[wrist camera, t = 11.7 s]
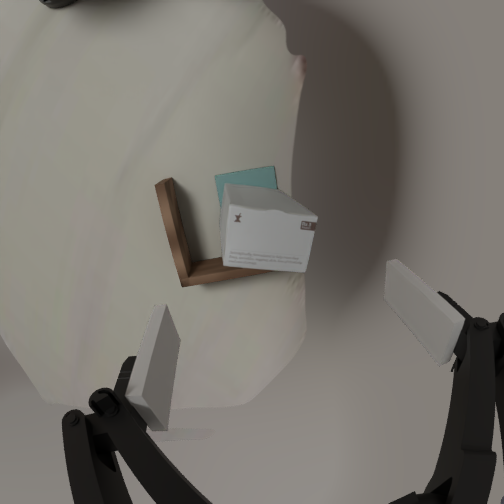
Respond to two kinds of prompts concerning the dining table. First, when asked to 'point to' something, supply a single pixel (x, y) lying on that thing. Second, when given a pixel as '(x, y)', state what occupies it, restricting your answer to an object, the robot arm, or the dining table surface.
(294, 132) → the dining table surface
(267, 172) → the pad
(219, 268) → the wooden corner bracket
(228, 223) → the skincare box
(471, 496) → the robot arm
